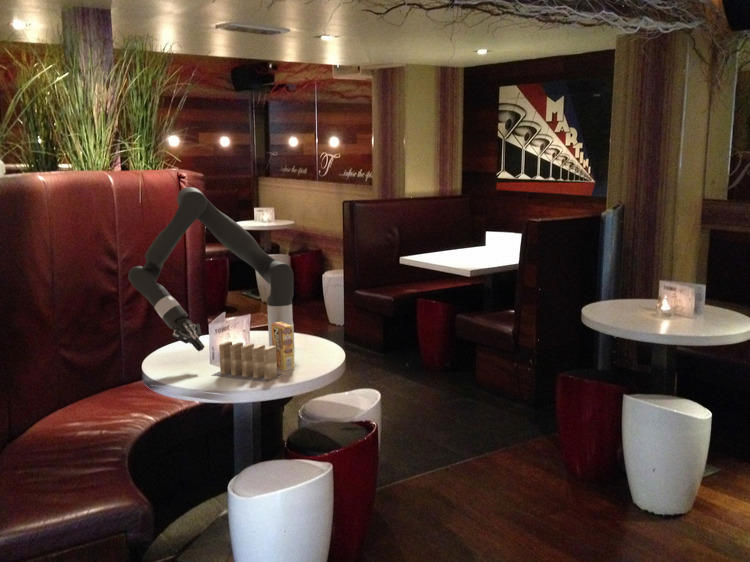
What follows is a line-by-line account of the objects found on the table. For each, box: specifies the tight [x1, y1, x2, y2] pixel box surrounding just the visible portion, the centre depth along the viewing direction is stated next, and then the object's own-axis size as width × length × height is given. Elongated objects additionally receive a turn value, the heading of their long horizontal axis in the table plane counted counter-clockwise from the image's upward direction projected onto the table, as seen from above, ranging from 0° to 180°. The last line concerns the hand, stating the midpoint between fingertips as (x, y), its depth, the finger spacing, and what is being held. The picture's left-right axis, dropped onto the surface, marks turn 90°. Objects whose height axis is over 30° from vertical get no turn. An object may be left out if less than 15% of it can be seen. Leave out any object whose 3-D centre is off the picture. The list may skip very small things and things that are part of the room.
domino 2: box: [230, 342, 244, 376], centre depth 238 cm, size 2×5×10 cm, turn 156°
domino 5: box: [263, 346, 278, 380], centre depth 233 cm, size 2×5×10 cm, turn 156°
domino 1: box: [218, 340, 233, 374], centre depth 240 cm, size 2×5×10 cm, turn 157°
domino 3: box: [241, 343, 255, 377], centre depth 237 cm, size 2×5×10 cm, turn 156°
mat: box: [210, 370, 284, 383], centre depth 238 cm, size 10×22×1 cm, turn 66°
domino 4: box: [252, 344, 266, 378], centre depth 235 cm, size 2×5×10 cm, turn 156°
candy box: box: [271, 322, 295, 371], centre depth 246 cm, size 9×4×15 cm, turn 33°
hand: (201, 349), depth 244 cm, fingers closed
